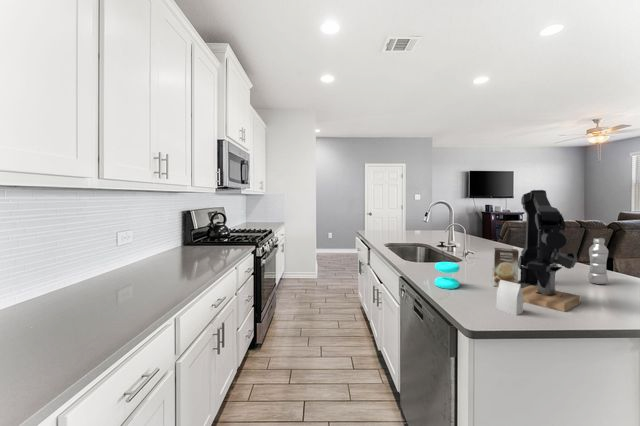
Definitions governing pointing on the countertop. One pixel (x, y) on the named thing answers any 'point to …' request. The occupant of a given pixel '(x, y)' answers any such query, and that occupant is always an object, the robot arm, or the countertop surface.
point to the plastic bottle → (598, 262)
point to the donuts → (447, 281)
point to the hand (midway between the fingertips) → (546, 286)
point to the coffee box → (505, 265)
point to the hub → (550, 299)
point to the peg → (548, 284)
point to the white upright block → (510, 297)
